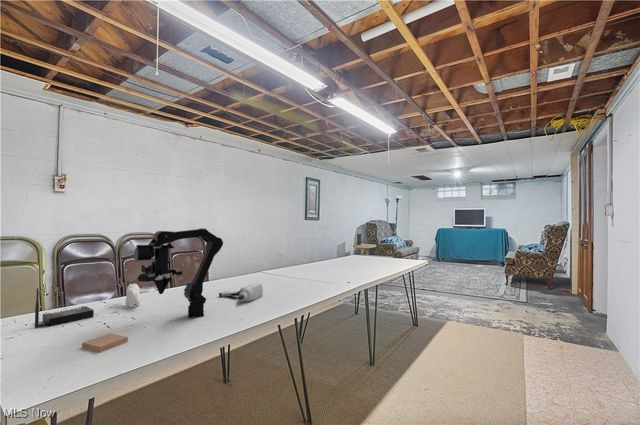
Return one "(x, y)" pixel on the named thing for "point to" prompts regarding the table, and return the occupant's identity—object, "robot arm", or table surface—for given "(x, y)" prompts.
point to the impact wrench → (246, 292)
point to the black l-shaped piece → (62, 315)
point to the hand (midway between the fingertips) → (160, 293)
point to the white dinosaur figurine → (133, 295)
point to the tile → (104, 342)
